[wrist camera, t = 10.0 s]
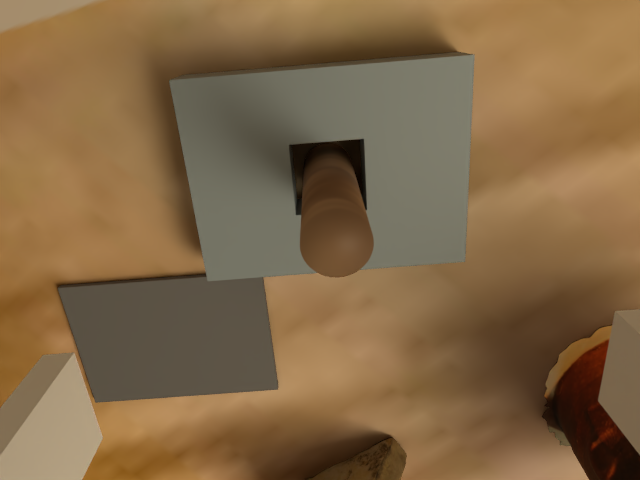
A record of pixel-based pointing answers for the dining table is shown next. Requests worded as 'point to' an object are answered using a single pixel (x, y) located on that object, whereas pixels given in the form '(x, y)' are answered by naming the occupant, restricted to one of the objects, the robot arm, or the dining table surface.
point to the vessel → (588, 411)
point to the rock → (370, 464)
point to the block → (323, 126)
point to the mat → (172, 336)
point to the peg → (333, 214)
